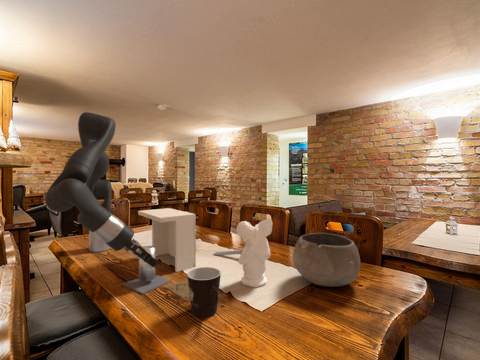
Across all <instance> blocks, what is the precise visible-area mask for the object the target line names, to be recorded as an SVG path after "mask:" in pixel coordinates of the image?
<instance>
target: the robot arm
mask: <svg viewBox="0 0 480 360" xmlns="http://www.w3.org/2000/svg"><path fill="white" fill-rule="evenodd" d="M77 130H78V135H79V140H80V143H81V147H80V148H79V149H76V150H75V151H74V152H73V153H71V155H70V156H69V158H68V160H67V162H66V164H65V166H64V167H63V169H62V171H61V173H60V174H59V175H58V177H56V179H55V180H54V181H53V183H52V184H51V185H50V187H49V188H48V190H47V191H46V193H45V196H44V202H45V205H46V207H48V209H49V210H50V211H53V212H55V213H61V212H66V211H69V210H70V209H72V208H73V207H76V209H77V210H78V212H79V214H78V215H77V222H78V223H79V224H80V225H82V227H84V228H86V229H87V230H89V232H88V234H89V236H88V239H89V240H88V241H89V243H88V244H89V245H88V247H89V248H88V250H89V252H92V253H98V252H104V251H109V250H111V249H112V250H114V251H116V252H118V251H120V250H122V249H123V250H125V251H126V252H127V253H129V254H130V255H132V256H134V257H135V258H136V259H139V258H141V259H142V260H144V262H146V263H148V264H149V265H151V266H152V267H153V268H155V269H156V267H157V265H158V264H159V261H158V260H157V259H156V258H155V259H154V258H153V257H152V256H151V254H149V253H148V252H147V251H146V249H145V248H144V247H143V246H142V245H141V244H140V242H138V240H135V239H134V238H133V237H134V235H135V232H134V230H133V229H132V228H131V227H130V226H128V225H127V224H126V223H125V222H123V221H122V220H121V219H120V218H119V217H117V216H116V215H114V214H112V206H111V205H112V189H113V188H112V183H111V181H110V180H102V178H104V176H105V175H106V174H107V173H108V172H109V169H110V159H109V156H108V154H107V152H106V150H107V148H108V146H109V145H110V144H111V142H112V141H113V138H114V135H115V132H116V122H115V120H114V119H113V118H111V117H108V116H106V115H101V114H97V113H93V112H87V111H85V112H82V113H81V114H80V115H79V118H78V121H77ZM100 179H101V180H100ZM99 200H101V201H102V203H100V202H99ZM146 254H147V256H146V257H145V258H144V256H145V255H146Z"/></svg>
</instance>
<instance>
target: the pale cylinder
mask: <svg viewBox="0 0 480 360" xmlns="http://www.w3.org/2000/svg"><path fill="white" fill-rule="evenodd" d="M142 247H144V248H145V249H146V251H147V252H148V253H149V254H151V256H152V257H153V258H154V259H155V260H156V256H155V246H152V245H145V246H142ZM146 256H147V254H146V255H145V256H144V258H145V257H146ZM155 274H156V267H155V268H153V267H152V266H151V265H149V264H148V263H146V262H144V260H142V259H141V258H138V278H139V280H140V281H150V280H153V279H154V278H155Z"/></svg>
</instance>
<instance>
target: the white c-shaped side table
mask: <svg viewBox="0 0 480 360" xmlns="http://www.w3.org/2000/svg"><path fill="white" fill-rule="evenodd" d="M137 214H138V216H141V217H144V218H147V219H150V220H151V239H152V241H151V243H152V245H151V246H155V257H157V256H158V255H159V256H163V255H167V254H168V255H169V256H171V257H174V271H175V272H176V273H177V272H182V271H185V270H189V269H192V268H196V261H197V259H196V252H197V251H196V246H197V245H196V241H197V240H196V239H197V237H196V224H197V223H196V213H192V212H188V211H183V210H179V209H178V210H177V209H175V208H170V207H167V208H156V209H146V210H145V209H143V210H137ZM159 256H158V257H159Z"/></svg>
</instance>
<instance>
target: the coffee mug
mask: <svg viewBox="0 0 480 360" xmlns="http://www.w3.org/2000/svg"><path fill="white" fill-rule="evenodd" d="M186 275H187V279H188V284H189V292H190V299H189V300H190V308H191V314H192V316H193V317H195V318H198V319H208V318H210V317H211V318H212V317H213V316H215V315H216V313H217V309H218V301H219V294H220V285H221V277H222V272H221V270H220V269H219V268H215V267H211V266H210V267H209V266H203V267H197V268H196V267H195V268H194V269H191V270H189V271H188V272H187V273H186Z"/></svg>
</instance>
